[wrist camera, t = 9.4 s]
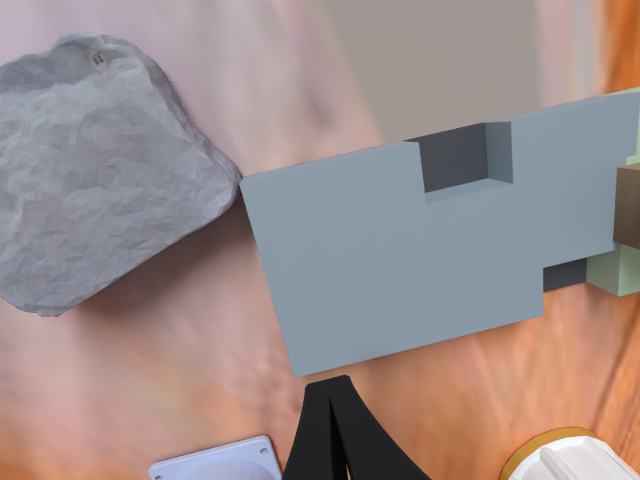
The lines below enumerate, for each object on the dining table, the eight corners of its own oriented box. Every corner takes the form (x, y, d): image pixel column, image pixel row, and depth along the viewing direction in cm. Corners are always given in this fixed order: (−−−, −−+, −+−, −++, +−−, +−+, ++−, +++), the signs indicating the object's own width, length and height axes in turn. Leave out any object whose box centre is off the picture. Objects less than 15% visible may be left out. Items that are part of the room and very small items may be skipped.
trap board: (293, 351, 22) (296, 404, 18) (244, 176, 18) (233, 190, 14) (648, 263, 23) (733, 293, 18) (664, 81, 19) (774, 66, 15)
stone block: (-35, 158, 18) (81, 313, 20) (-154, 143, 14) (8, 348, 15) (152, 33, 18) (260, 197, 19) (97, -27, 13) (244, 196, 14)
